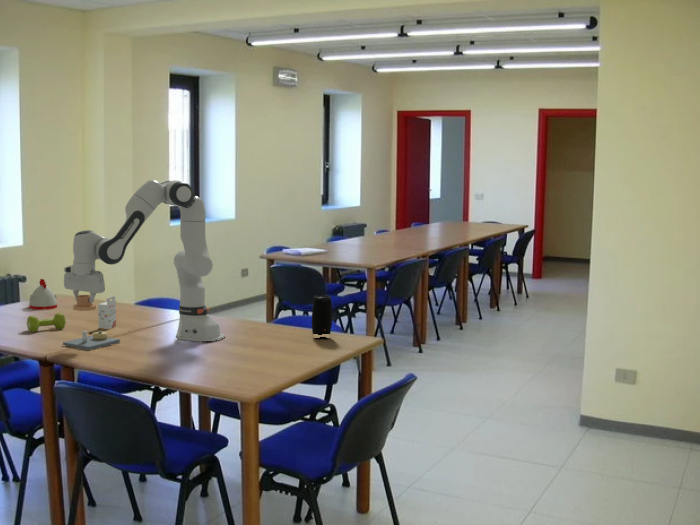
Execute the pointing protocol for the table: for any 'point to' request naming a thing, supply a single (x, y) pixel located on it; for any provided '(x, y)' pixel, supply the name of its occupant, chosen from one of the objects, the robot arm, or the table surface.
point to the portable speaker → (322, 315)
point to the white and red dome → (43, 298)
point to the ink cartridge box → (107, 313)
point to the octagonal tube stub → (84, 303)
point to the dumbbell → (46, 322)
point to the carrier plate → (92, 341)
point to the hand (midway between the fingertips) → (84, 301)
